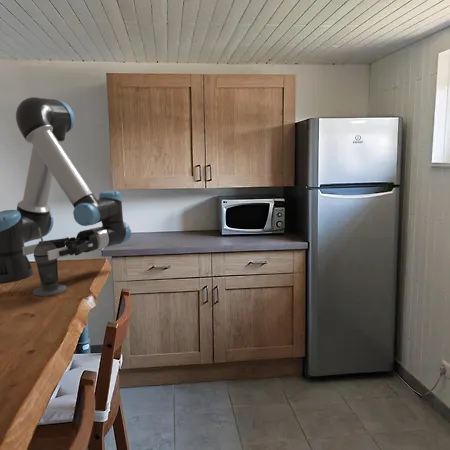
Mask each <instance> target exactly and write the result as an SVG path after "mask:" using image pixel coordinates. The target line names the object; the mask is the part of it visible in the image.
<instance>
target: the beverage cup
mask: <svg viewBox="0 0 450 450" xmlns="http://www.w3.org/2000/svg"><path fill="white" fill-rule="evenodd" d="M38 229H39V234H40V241H41V242H40V241H39V242H40V243H39V242H38V243H36V244H37V245H36V247H35V249H34V253H33V258H34V261H35V263H36V267H37V271H38V276H39V279H40V284H41V287H42V288H43V291H53V290H56V289H58V284H59V273H58V259H59V258H57V259H53V260H48V252H47V251H50V250H55V249H57V248H56V246H55V245H54V244H53V243H51V242H49V241H48V240H44V239H43V237H42V234H41V230H40V228H38Z"/></svg>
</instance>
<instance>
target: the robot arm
mask: <svg viewBox="0 0 450 450" xmlns="http://www.w3.org/2000/svg"><path fill="white" fill-rule="evenodd" d="M15 120H16V125H17V127H18V129H19V131H20V133H21V135H22V137H23V138H24V140H25V141H26V142H27V143H29V144H31V145H32V149H31V154H30V160H29V165H28V171H27V176H26V180H25V187H24V191H23V197H22V200H20V201H19V202H17V206H16V209H7V210H2V211H0V283H9V282H15V281H18V280H19V281H20V280H22V279H25V278H28V277H30V276H32V275H33V273H34V270H33V266H32V263H31V262H30V260H29V259H28V257H27V256H28V255H34V249H35V247H36V245H37V244H38V243H40V242H41V238H40V234H39V229H38V228H40V230H41V234H42V238H44V237H45V236H47V235H49V233H50V232H51V231H52V229H53V226H54V217H53V216H52V212H51V207H50V206H49V205H48V203H49V202H48V200H49V197H50V191H51V187H52V183H53V182H52V181H53V178H54V179H55V180H56V182H57V184H58V185H59V186H60V188H61V189H62V191H63V193H64V194H65V196H66V197H67V199H68V200H69V202H70V203H71V205H72V206H73V211H72V214H73V219H74V221H75V222H76V223H77V224H79V226H82V227H87V226H94V225H96V224H98V223H101V226H97V227H94V228H93V227H92V228H89V229H85V230H81V231H79V232H78V233H77V234H76V237H75V236H73V237H62V238H57V239H50V240H49V239H48V240H47V241H49V242H51V243H53V244H54V245H55V246H56V248H57V249H55V250H50V251H47V252H48V260H53V259H57V258H58V259H59V258H63V257H67V256H79V255H81V254H83V253H84V254H85V253H90V252H94V251H96V250H98V251H101V250H102V249H104V248H107V247H112V246H117V245H121V244H123V243H127V242H128V241H129V240H130V239H131V236H132V229H131V228H130V225H129V224H128V223H127V222H124V216H123V202H122V195H121V192H119V191H118V190H110V191H107V190H106V191H102V192H99V196H98V197H99V198H98V199H97V198H96V196H95V194H94V193H93V192H92V190H91V189H90V187H89V186H88V184H87V183H86V181H85V180H84V178H83V176H81V174H80V172H79V170H78V169H77V168H76V166H75V165H74V163H73V162H72V160H71V158H70V157H69V155H68V154H67V152H66V151H65V149H64V148H63V146H62V145H61V144H62V143H63V142H65V139H66V136H67V135H66V134H67V133H69V132H70V131H71V130H72V129H73V127H74V125H75V115H74V112H73V110H72V108H71V107H70V105H69V104H68V103H66V102H64V101H62V100H58V99H53V98H41V97H36V96H32V97H27V98H25V99H23V100H22V101H21V102H20V103H19V104H18V106H17V107H16V111H15ZM34 240H35V241H36V240H40V241H38V243H33V244H30V245H26V246H25V243H28V242H32V241H34ZM58 259H57V260H58Z"/></svg>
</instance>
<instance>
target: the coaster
mask: <svg viewBox="0 0 450 450" xmlns="http://www.w3.org/2000/svg"><path fill="white" fill-rule="evenodd" d="M67 288H68V287H67V285H65V284H62V283H61V284H60V283H58V289H56V290H53V291H43V288H42V286H39V287H36V288H35V289H33V291H32V295H34V296H35V297H49V296H55V295H58V294H62V293H64V292H65V291H67Z"/></svg>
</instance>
